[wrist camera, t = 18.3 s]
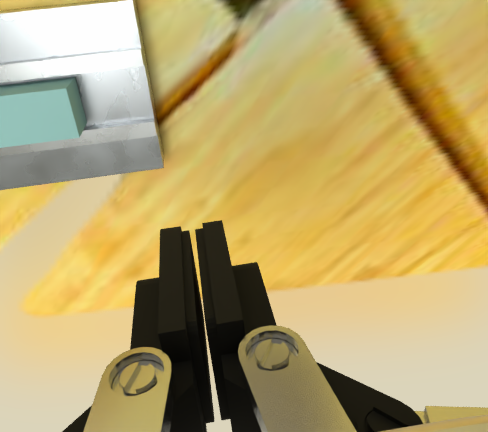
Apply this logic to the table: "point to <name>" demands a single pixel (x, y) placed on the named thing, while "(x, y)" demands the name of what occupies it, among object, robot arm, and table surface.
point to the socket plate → (83, 90)
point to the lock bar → (40, 112)
